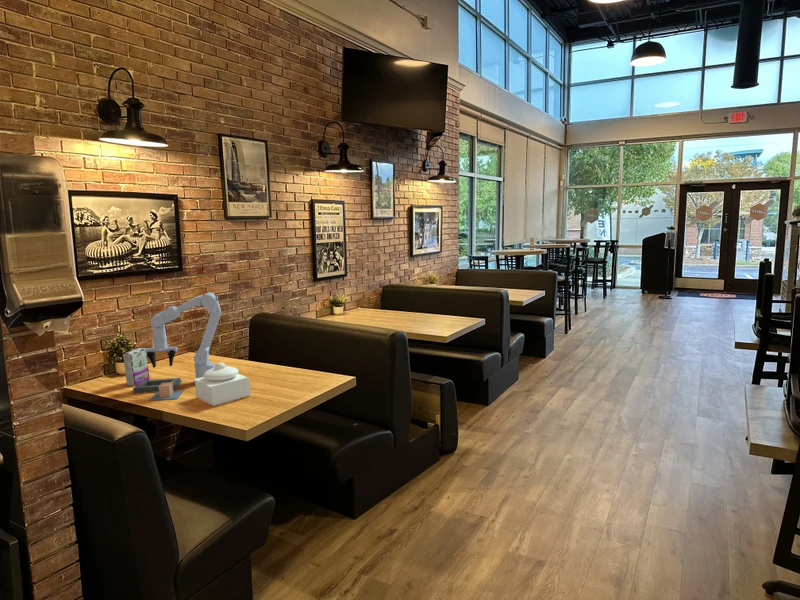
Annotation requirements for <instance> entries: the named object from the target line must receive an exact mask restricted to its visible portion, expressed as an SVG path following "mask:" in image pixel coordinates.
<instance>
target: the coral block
mask: <svg viewBox="0 0 800 600" xmlns="http://www.w3.org/2000/svg"><path fill="white" fill-rule="evenodd" d="M174 391H175V390H173V382H167V383H162V384H161V385H160V386H159V396H160V397H170V396H171V395H172V394H173V393H174Z"/></svg>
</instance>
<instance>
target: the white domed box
mask: <svg viewBox="0 0 800 600" xmlns="http://www.w3.org/2000/svg"><path fill="white" fill-rule="evenodd" d="M203 376H204V377H201V378H196V377H195V378H193V382H195V384H194V387H195V394H196V395H195V396H196V398H197V399H198V398H199V399H198V400H200V399H201V400H200V401H203V402H204V401H205V403H206V404H208V405H210V406H212V407H216V405H217V406H219V405H223V404H228V403H230V402H234V400H235V401H238V400H241V399H240V398H242V399H244V398H243V397H245V398H247V397H246V396H249V397H251V396H250V395H252V392H251V381H250V378H249V377H248V376H245V375H242V374H241V373H239V370H238V368H237V367H234V366H229V365H227V366H226V364H225V363H223V362H217V363H215V368H212V369H210V370H208V371H206V372H205V373H204V375H203ZM237 399H238V400H237Z"/></svg>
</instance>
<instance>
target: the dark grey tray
mask: <svg viewBox="0 0 800 600" xmlns="http://www.w3.org/2000/svg"><path fill="white" fill-rule="evenodd" d="M167 382H173V391H176V389H177V388H176V387H177V386H178V387H179V386H180V384H181V383H182V377H172V378H161V379H159V378H158V379H157V378H156V379H149V380H143V381H141V382H140V383H139V384H138V385H136V386H133V388H132V391H133V394H143V393H144V392H146V393H154V392H153V391H159V386H160V385H161V384H162V383H167ZM175 388H176V389H175ZM144 394H145V393H144Z"/></svg>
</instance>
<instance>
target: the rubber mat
mask: <svg viewBox="0 0 800 600" xmlns="http://www.w3.org/2000/svg"><path fill="white" fill-rule="evenodd" d="M173 391H174V393H173V394H172V395H171V396H170V397H160V396H159V392H155V393H154V394H153V395H152V397H150V398H149V399H148V402H151V401H150V400H158V401H168V400H167V399H171V400H178V399H179V398H180V396H181V395H182V394H183V393H184V391H185V390H184V389H180V390H178V389H177V390H176V389H175V390H173ZM182 392H183V393H182Z"/></svg>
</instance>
